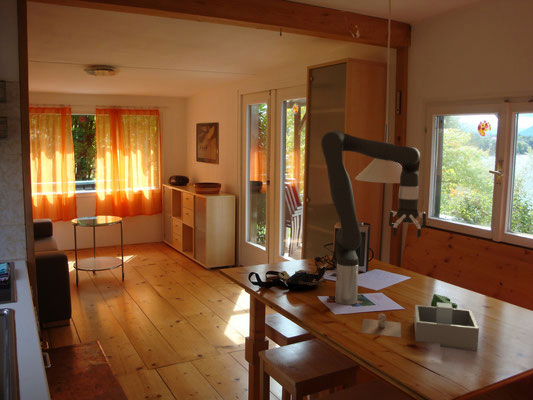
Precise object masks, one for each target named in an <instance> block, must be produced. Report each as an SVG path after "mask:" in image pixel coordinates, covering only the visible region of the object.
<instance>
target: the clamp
mask: <svg viewBox="0 0 533 400" xmlns="http://www.w3.org/2000/svg"><path fill="white" fill-rule="evenodd" d="M432 296H433V297H432V300H431V302H430V306H433V307H436V305H437V302H439V303H449V304H451V305H452V308H454V309H458V304H457V303H456V302H452V301H451V298H449V297H448V296H445V295H441V294H437V293H433V295H432Z"/></svg>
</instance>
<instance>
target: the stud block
mask: <svg viewBox="0 0 533 400" xmlns="http://www.w3.org/2000/svg"><path fill="white" fill-rule="evenodd" d="M377 318H378V319H371V318H370V319H369V318H363V321H362V326H361V333H362V334H370V335H378V336H388V337H394V338H395V337H396V338H401V337H402V323H401V322H398V321H397V322H396V321H389V320H388V321H387V320H386V314H384V313H379V314H378V315H377Z"/></svg>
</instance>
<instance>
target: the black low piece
mask: <svg viewBox="0 0 533 400" xmlns="http://www.w3.org/2000/svg"><path fill="white" fill-rule="evenodd" d="M328 266H329V263H324V264H323V265H321V266H319V265H317V266H316V271H311V270H306V269H305V270H304V269H299V270H297V271H296V270H295V271H294V275H295V274H296V273H299V272H306V273H309V274H315V275H318V274H319V272H320V271H321V269H322V268H323V267H325V270H326V269H327V268H328ZM281 273H283V274H284V276H283V275H282V274H281ZM277 276H278V279H279V280H280V281H283V282H286V283H287V282H290V281H291V280H288V279H289V278H290V277H292V276H290V274H289V273H288V272H287V271H286V270H281V271H279V272H278V274H277ZM324 280H325V277H324V275H323V276H322V278H321V279H320V280H319V281H312V282H303V281H298V282H299V284H307V285H309V286H308V287H310V286H311V287H312V286H316V285H318V284H320V283H322V282H324Z"/></svg>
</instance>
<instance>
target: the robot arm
mask: <svg viewBox="0 0 533 400" xmlns="http://www.w3.org/2000/svg"><path fill="white" fill-rule="evenodd" d="M320 144H321V146H320V147H321V150H322V153H323V156H324V160H325V164H326V168H327V169H326V170H327V177H328V183H329V190H330V197H331V200H332V204H333V206H334V209H335V211H336V213H337V215H338V219H339V221H340V228H339V229H338V230H337V231H336V234H335V257H336V280H335V294H334V295H335V299H334V301H335V303H337V304H341V305H347V306H348V305H355V304H357V303H358V286H359V284H358V283H359V282H358V281H359V256H358V255H357V251H356V250H357V249H359V248H360V246H361V245H362V241H363V240H362V238H363V237H362V233H361V230H360V229H361V228H360V225H359V222H358V219H357V217H358V216H357V212H356V211H357V210H356V204H355V198H354V191H353V190H354V189H353V186H352V180H351V179H350V175H349V173H348V172H347V169H346V166H345V163H344V158H343V157H344V156H343V152H352V153H353V152H354V153H358V154H360V155H364V156H366V157H369V158H373V159H377V160H381V161H382V160H383V161H387V162H394V163H397V164H401V173H400V176H399V189H398V203H397V204H398V205H397V211H393V210H390V212H389V219H388V226H389V227H392V229H393V230H392V235H393V236H394V237H395V238H397V233H398V226H399V225H400V224H401V223H402V224H403V223H408V224H412V223H413V224H414V225H415V226H416V227H417V228H416V239H419V238H420V237H421V235H422V229H424V228H425V229H426V227H427V217H426V216H427V214H426V212H425V211H423V212H419V210H418V209H419V170H420V165H421V164H420V163H421V152H420V150H419V149H418V148H416V147H414V146H404V145H397V144H394V143H389V142H384V141H378V140H372V139H366V138H361V137H357V136H354V135H351V134H348V133H345V132H342V131H339V130H331V131H328V132H326V133H325V134H323V136H322V137H321V142H320ZM396 215H397V217H398V219H397V220H396V221H395V222H394V223H393V219H394V218H393V217H395V216H396ZM418 217H420V218H421V219H422V220H421V222H422V223H421V224H420V223H419V221H418V220H417V218H418Z"/></svg>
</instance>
